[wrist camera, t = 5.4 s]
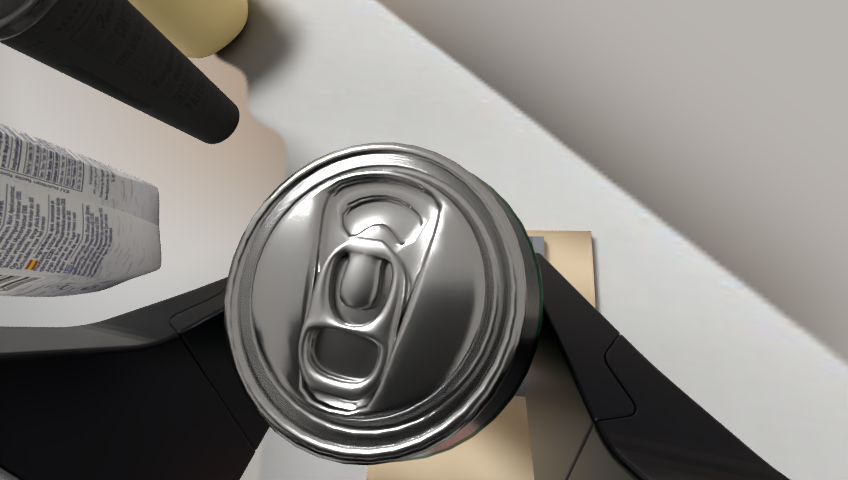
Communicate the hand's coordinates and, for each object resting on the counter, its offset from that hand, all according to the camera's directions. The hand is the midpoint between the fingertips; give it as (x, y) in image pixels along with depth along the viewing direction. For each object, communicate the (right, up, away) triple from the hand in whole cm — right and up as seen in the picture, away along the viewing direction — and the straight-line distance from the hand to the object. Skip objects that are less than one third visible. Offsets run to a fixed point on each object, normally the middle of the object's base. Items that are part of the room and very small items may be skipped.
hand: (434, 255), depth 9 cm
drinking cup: (-21, +12, +21) cm, 32 cm away
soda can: (+1, -3, +7) cm, 7 cm away
